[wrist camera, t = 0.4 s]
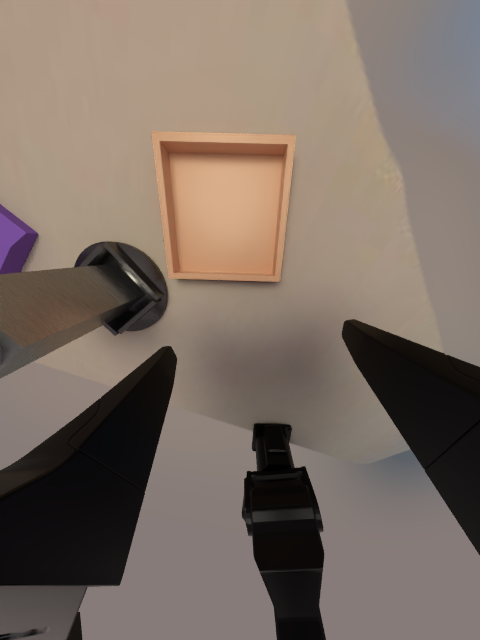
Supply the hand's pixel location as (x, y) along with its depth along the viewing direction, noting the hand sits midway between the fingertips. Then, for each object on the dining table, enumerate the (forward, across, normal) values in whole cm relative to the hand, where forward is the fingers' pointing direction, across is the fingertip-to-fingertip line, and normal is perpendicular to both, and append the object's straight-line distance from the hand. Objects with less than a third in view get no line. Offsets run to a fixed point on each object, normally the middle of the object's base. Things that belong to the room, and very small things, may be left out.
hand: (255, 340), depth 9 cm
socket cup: (+14, +16, 0) cm, 21 cm away
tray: (+15, +1, -5) cm, 16 cm away
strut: (+13, +16, 0) cm, 20 cm away
